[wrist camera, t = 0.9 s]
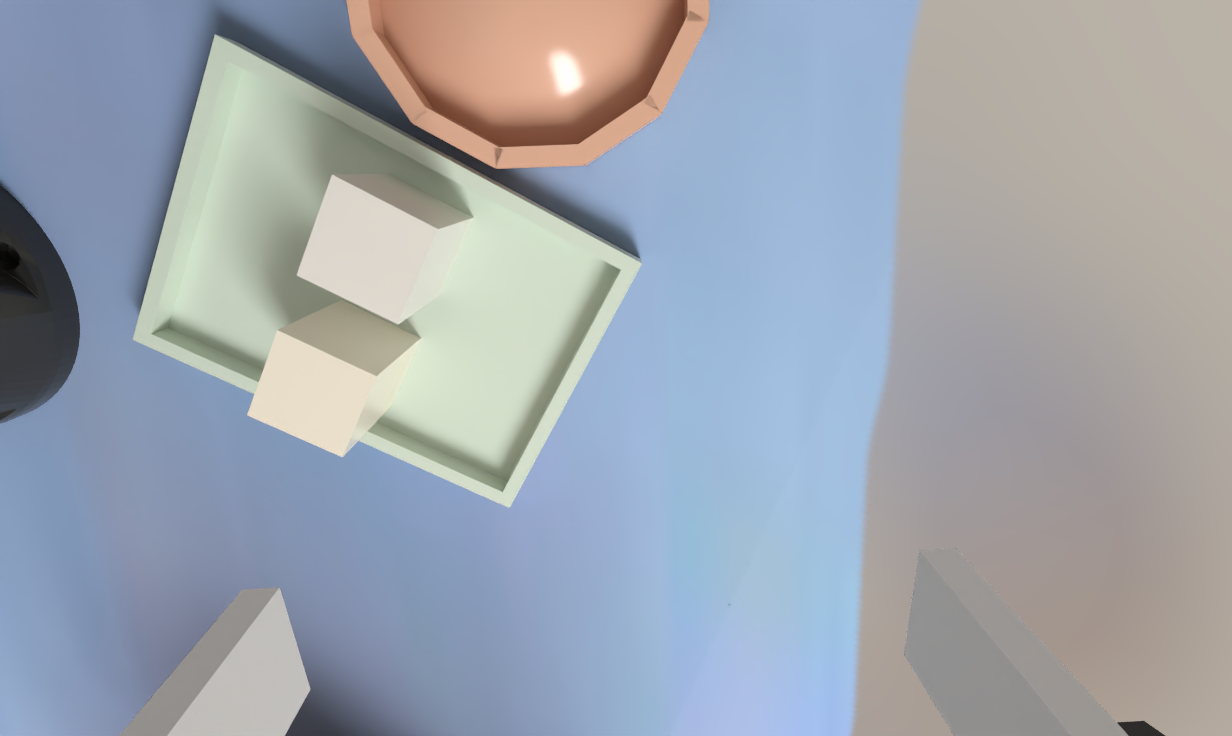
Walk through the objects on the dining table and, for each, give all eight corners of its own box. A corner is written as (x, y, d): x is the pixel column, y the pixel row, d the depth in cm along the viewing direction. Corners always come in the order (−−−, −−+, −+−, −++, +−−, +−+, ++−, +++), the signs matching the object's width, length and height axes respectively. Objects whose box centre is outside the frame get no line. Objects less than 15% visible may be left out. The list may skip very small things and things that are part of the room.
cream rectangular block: (314, 370, 31) (247, 415, 26) (341, 299, 30) (277, 330, 24) (391, 406, 32) (342, 457, 26) (421, 338, 31) (376, 376, 25)
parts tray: (154, 331, 31) (132, 339, 29) (236, 41, 26) (215, 34, 25) (513, 493, 34) (509, 507, 33) (640, 259, 30) (641, 263, 28)
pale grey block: (358, 254, 29) (296, 275, 24) (389, 173, 28) (332, 174, 22) (439, 295, 30) (398, 324, 24) (473, 217, 29) (438, 229, 23)
